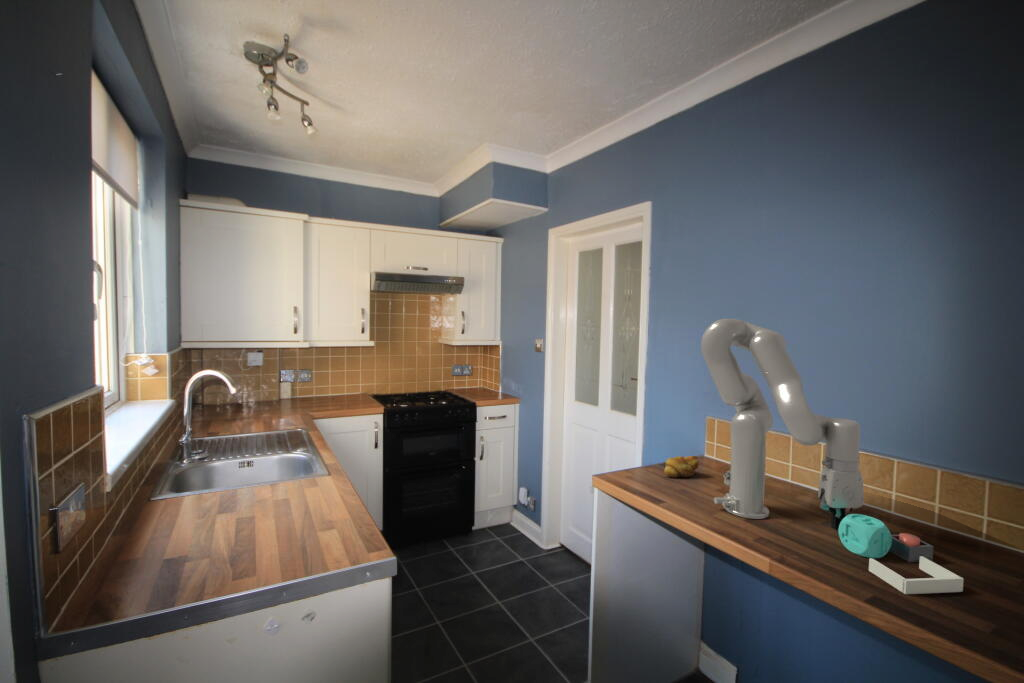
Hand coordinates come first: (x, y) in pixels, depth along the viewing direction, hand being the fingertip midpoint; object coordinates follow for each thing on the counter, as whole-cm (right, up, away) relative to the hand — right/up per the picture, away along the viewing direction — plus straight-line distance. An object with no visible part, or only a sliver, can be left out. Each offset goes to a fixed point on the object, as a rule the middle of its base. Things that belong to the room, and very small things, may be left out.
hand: (838, 529), depth 128 cm
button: (+10, -1, -11) cm, 15 cm away
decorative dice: (+1, -2, -8) cm, 9 cm away
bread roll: (-27, +1, +46) cm, 54 cm away
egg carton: (-9, +1, +39) cm, 40 cm away
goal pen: (+2, -3, -22) cm, 22 cm away
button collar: (+10, -2, -11) cm, 15 cm away
